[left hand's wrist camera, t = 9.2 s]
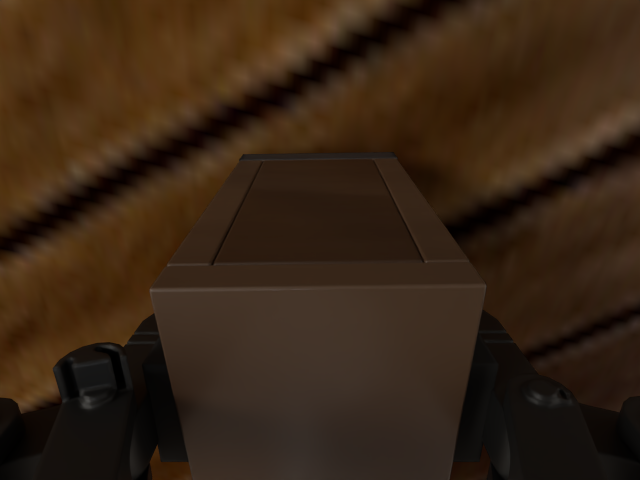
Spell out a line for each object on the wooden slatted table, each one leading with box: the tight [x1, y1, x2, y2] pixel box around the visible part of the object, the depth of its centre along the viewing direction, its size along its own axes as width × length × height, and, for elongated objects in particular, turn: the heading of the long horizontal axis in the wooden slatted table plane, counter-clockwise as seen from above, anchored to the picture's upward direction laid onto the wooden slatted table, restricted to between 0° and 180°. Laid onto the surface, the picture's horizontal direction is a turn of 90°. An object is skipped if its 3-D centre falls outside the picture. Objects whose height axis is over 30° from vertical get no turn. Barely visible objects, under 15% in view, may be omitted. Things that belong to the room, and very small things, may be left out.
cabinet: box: [150, 152, 487, 480], centre depth 16 cm, size 22×6×10 cm, turn 1°
